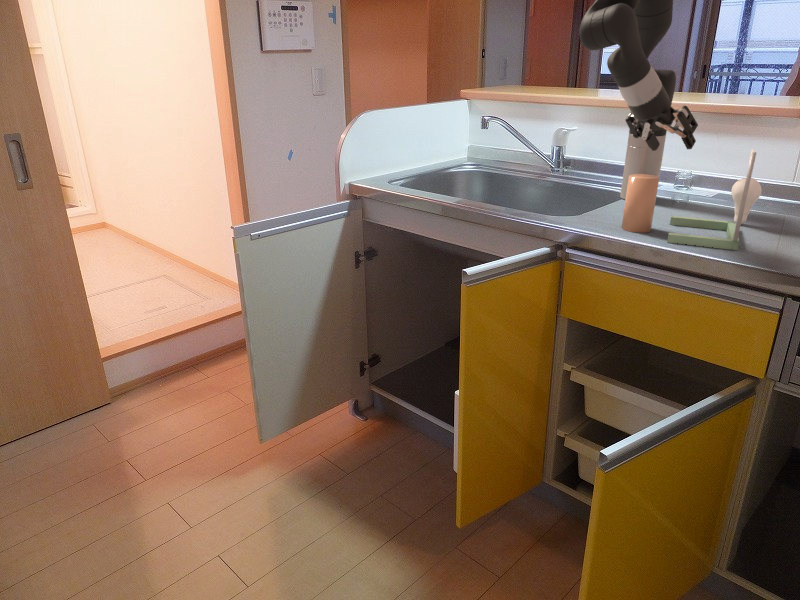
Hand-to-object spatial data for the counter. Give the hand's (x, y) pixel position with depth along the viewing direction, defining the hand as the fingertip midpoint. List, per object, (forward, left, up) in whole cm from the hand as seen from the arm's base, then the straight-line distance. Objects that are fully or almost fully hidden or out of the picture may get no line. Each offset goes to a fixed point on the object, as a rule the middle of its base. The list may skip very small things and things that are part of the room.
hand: (673, 147), depth 138 cm
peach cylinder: (+3, -5, -18) cm, 19 cm away
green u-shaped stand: (+3, +8, -18) cm, 20 cm away
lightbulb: (-11, +17, -19) cm, 27 cm away
